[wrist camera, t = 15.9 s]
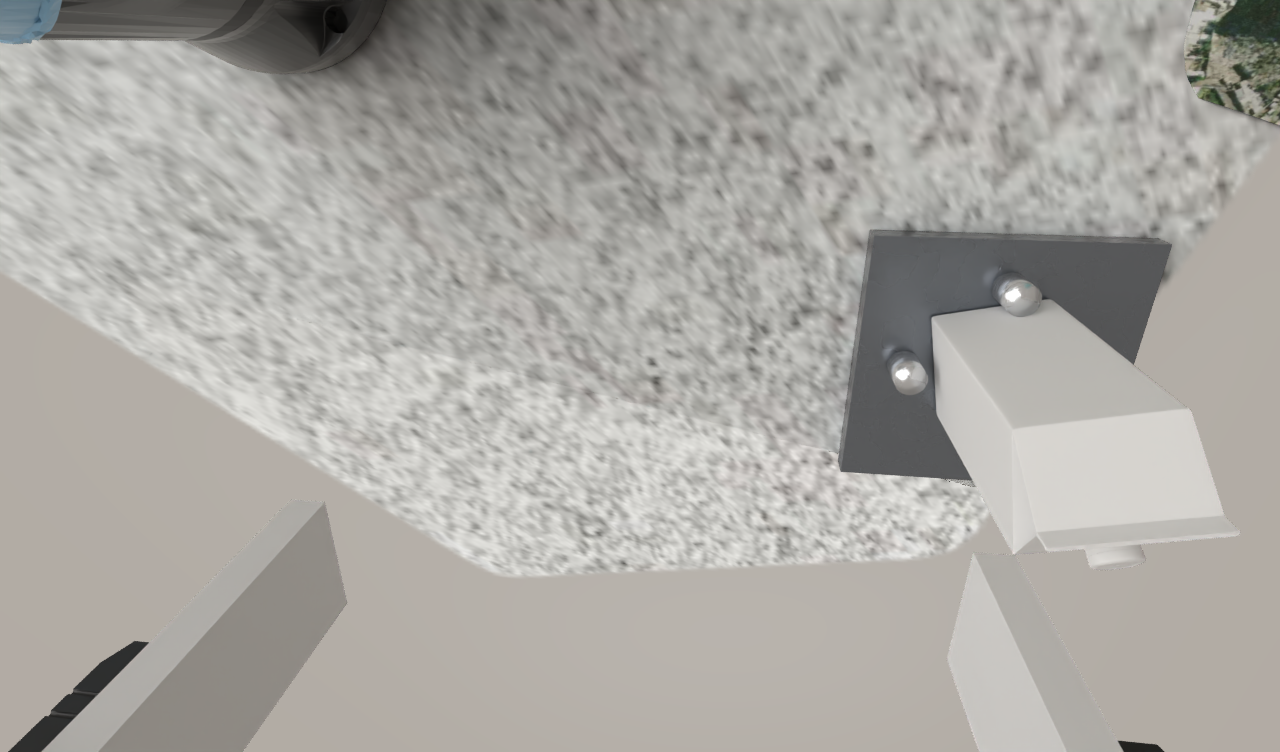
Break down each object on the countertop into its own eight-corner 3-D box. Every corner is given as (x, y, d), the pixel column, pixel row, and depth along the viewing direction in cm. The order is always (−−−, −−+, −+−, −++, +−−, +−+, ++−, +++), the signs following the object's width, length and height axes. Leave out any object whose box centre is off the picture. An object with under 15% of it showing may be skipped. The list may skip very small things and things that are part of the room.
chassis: (838, 460, 52) (845, 491, 48) (869, 229, 45) (881, 245, 41) (1084, 476, 50) (1111, 509, 47) (1158, 238, 43) (1196, 255, 39)
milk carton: (929, 315, 45) (1047, 477, 28) (1051, 297, 44) (1252, 456, 27) (935, 413, 48) (1045, 616, 31) (1049, 399, 47) (1231, 603, 29)
